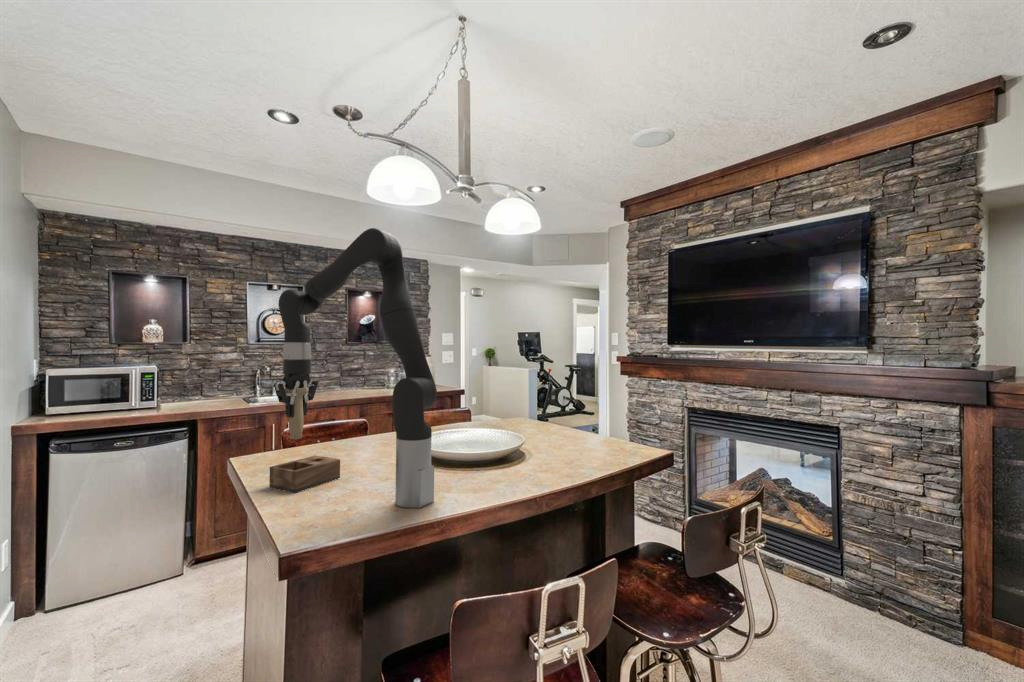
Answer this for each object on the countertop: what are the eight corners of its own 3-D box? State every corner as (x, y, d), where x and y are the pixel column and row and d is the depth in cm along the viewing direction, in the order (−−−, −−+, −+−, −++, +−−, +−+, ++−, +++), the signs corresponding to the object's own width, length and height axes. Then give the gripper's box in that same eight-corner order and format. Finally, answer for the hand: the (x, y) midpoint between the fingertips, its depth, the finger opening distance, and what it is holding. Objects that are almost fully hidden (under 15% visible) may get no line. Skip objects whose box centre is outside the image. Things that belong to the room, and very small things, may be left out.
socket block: (339, 478, 141) (340, 459, 141) (295, 493, 126) (295, 471, 127) (314, 474, 146) (315, 455, 146) (269, 487, 131) (269, 466, 131)
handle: (306, 439, 131) (307, 388, 132) (282, 441, 129) (283, 388, 130) (308, 436, 136) (309, 386, 136) (285, 437, 134) (285, 387, 134)
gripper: (284, 358, 125) (283, 420, 125) (325, 357, 138) (324, 414, 138) (266, 358, 128) (265, 418, 128) (308, 357, 141) (307, 412, 141)
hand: (296, 416), depth 133 cm, fingers closed on handle, 3 cm apart
